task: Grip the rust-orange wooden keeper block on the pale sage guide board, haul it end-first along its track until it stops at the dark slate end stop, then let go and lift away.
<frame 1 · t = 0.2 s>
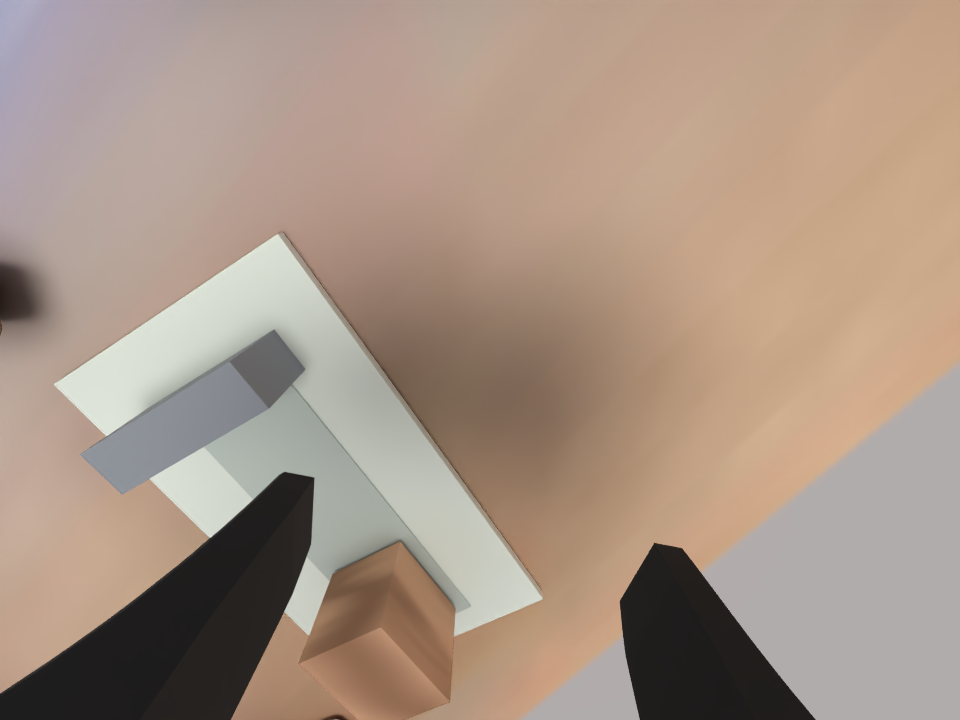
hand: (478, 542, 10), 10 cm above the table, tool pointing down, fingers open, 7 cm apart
keeper: (386, 632, 21), point 3 cm above the table, slide at 0.0 cm
guide board: (326, 495, 22), on the table
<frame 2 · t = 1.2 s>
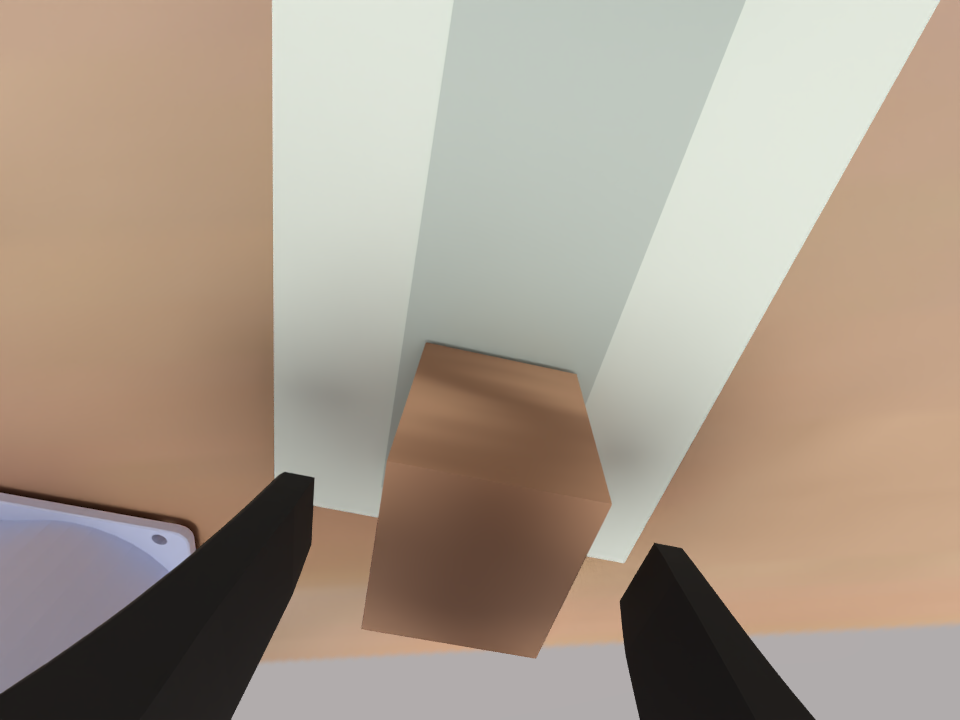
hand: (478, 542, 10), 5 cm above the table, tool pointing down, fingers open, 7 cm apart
keeper: (477, 491, 11), point 3 cm above the table, slide at 0.0 cm
guide board: (536, 216, 11), on the table
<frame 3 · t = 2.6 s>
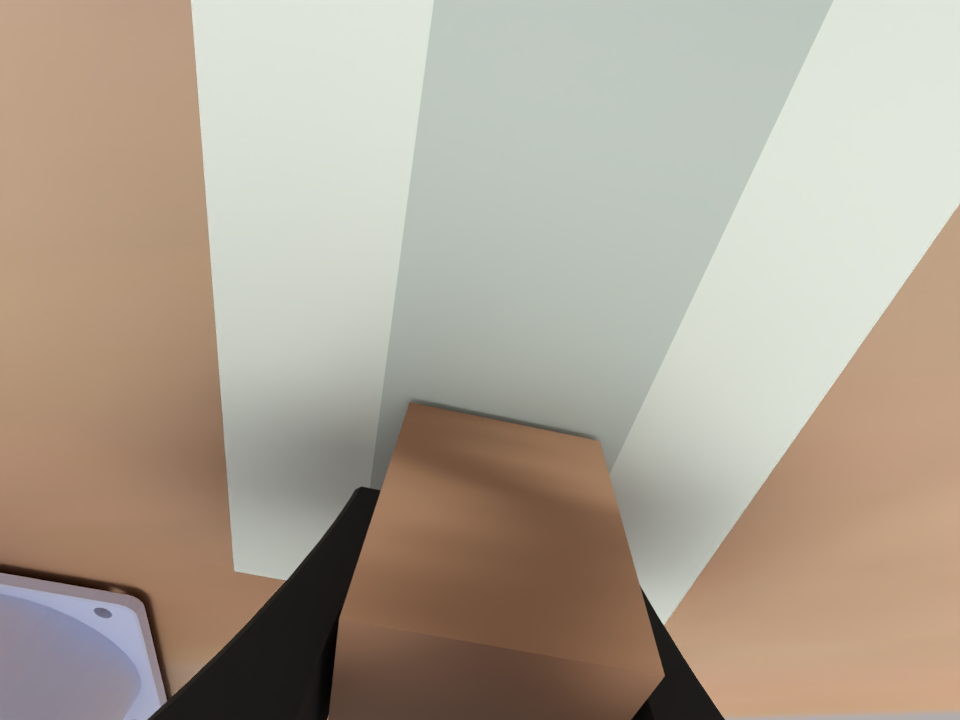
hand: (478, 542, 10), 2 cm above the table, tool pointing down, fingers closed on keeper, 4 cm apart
keeper: (474, 597, 9), point 3 cm above the table, slide at 0.0 cm, touching gripper
guide board: (551, 245, 8), on the table
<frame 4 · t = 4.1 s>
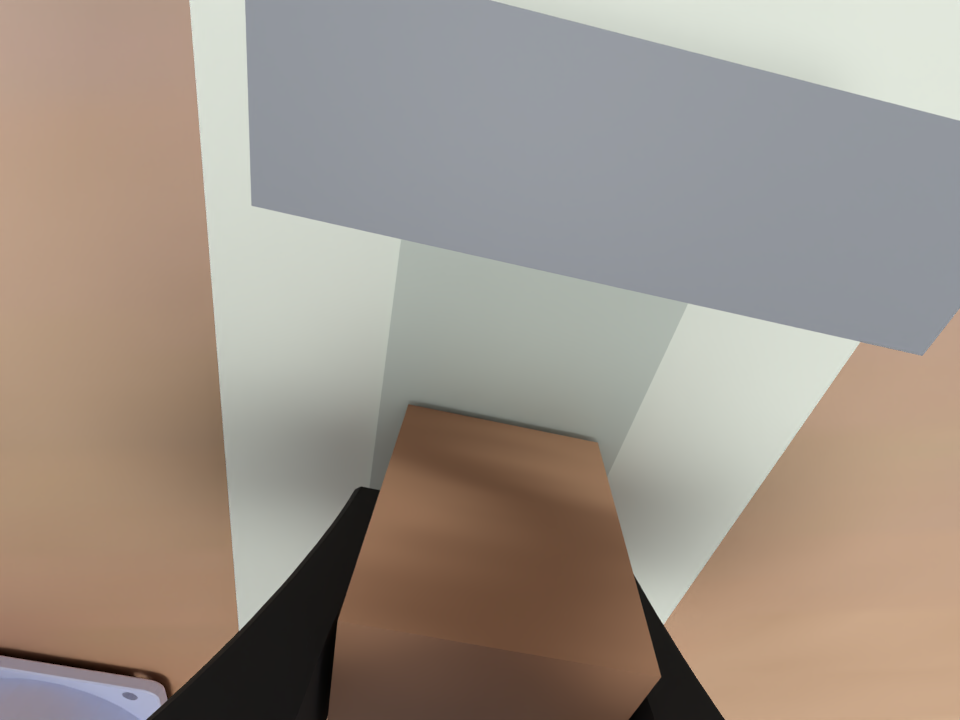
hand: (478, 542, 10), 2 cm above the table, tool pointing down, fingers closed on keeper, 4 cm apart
keeper: (473, 599, 9), point 3 cm above the table, slide at 5.0 cm, touching gripper
guide board: (490, 451, 11), on the table
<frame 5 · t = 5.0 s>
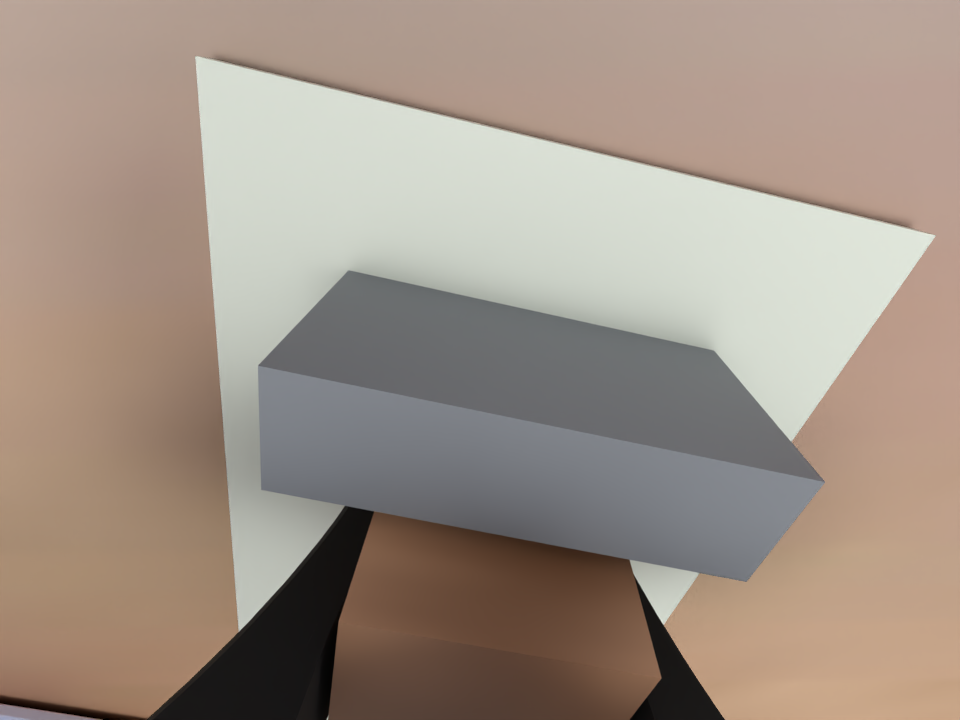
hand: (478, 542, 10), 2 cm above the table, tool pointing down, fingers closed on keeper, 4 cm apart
keeper: (473, 599, 9), point 3 cm above the table, slide at 8.8 cm, touching gripper
guide board: (459, 555, 13), on the table
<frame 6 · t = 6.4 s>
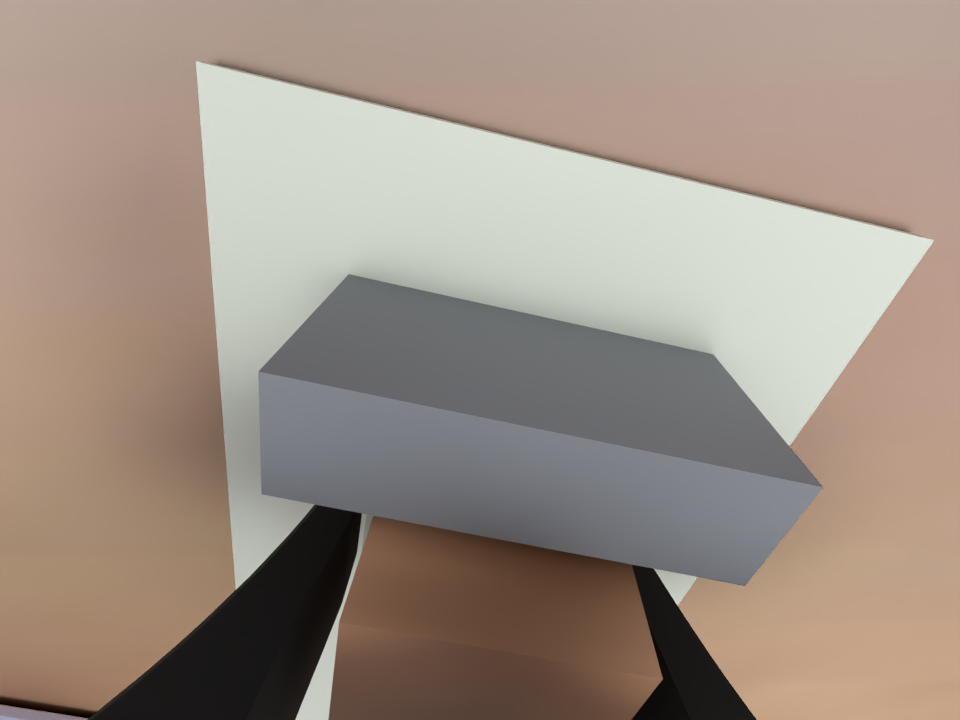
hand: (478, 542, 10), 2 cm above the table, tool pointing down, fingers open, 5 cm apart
keeper: (473, 600, 9), point 3 cm above the table, slide at 8.8 cm
guide board: (459, 557, 13), on the table
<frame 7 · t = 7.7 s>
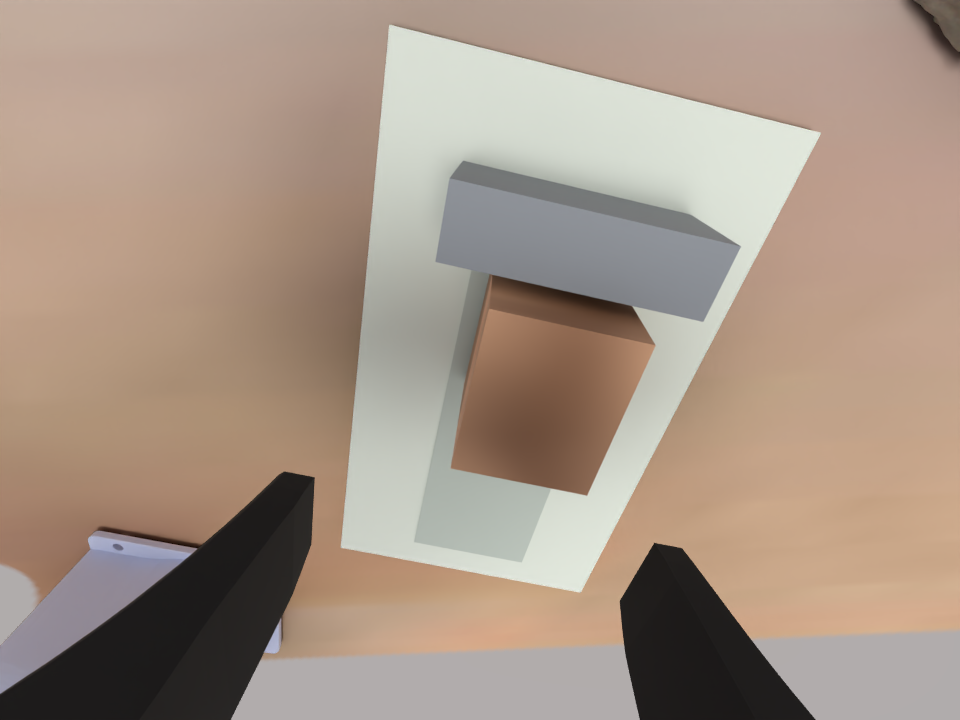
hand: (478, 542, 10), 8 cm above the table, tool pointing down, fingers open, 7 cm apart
keeper: (538, 368, 14), point 3 cm above the table, slide at 8.8 cm
guide board: (514, 390, 18), on the table
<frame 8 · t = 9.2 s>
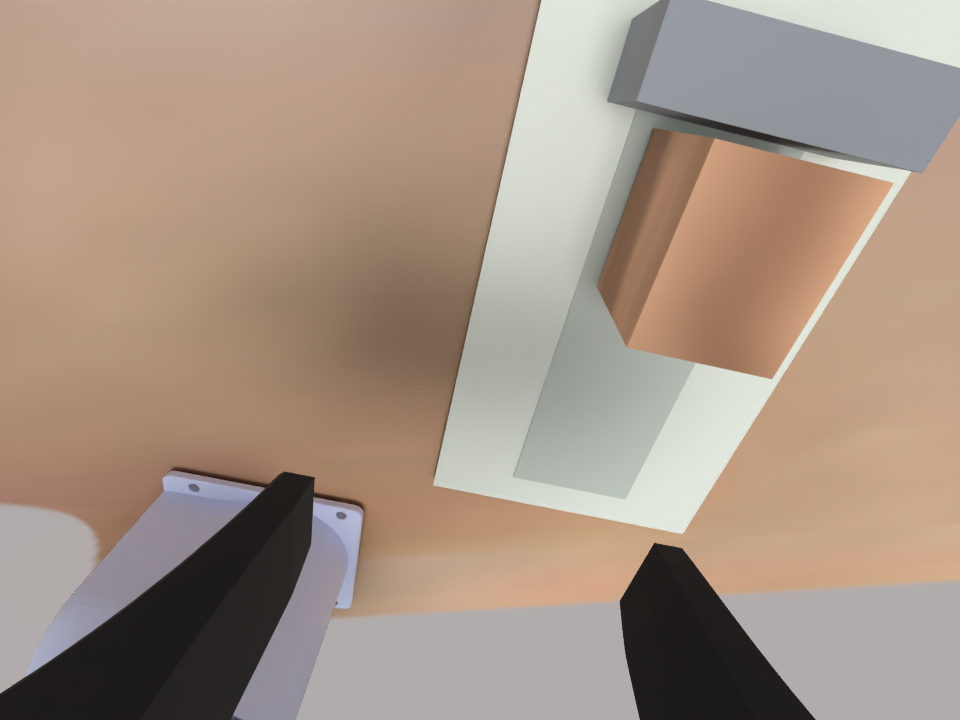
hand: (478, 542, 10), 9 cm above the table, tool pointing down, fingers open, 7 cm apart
keeper: (710, 247, 13), point 3 cm above the table, slide at 8.8 cm
guide board: (642, 299, 17), on the table
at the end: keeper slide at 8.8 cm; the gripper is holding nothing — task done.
